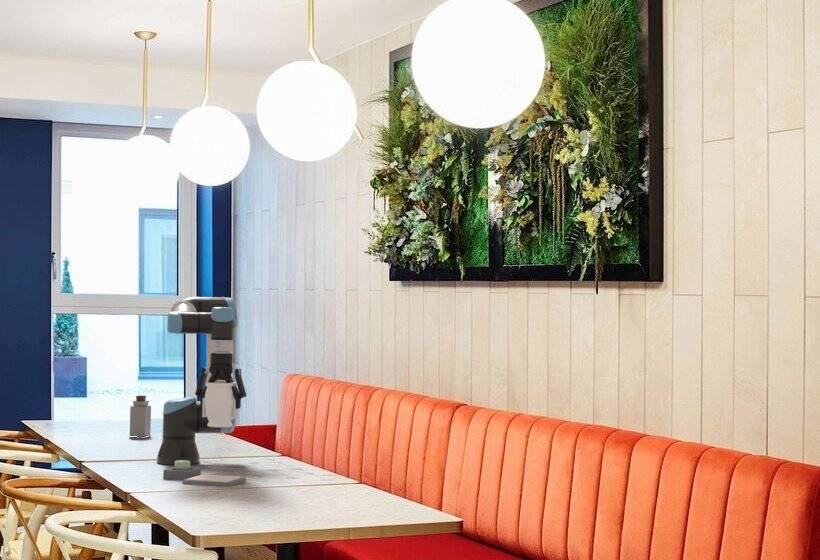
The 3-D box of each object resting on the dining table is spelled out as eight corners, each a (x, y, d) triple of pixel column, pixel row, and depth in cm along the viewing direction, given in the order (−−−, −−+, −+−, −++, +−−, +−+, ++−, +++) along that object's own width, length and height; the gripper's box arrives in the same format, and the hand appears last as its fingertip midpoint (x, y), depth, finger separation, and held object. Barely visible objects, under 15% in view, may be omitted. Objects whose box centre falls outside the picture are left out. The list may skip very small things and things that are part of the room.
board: (182, 483, 355) (182, 479, 355) (200, 478, 367) (200, 473, 367) (228, 486, 350) (228, 482, 350) (245, 481, 363) (245, 476, 363)
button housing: (163, 479, 364) (163, 469, 364) (176, 475, 373) (176, 466, 373) (188, 480, 362) (188, 471, 362) (200, 476, 370) (201, 467, 371)
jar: (198, 427, 376) (199, 382, 376) (213, 424, 385) (215, 380, 386) (226, 428, 372) (227, 383, 372) (241, 425, 382) (242, 381, 382)
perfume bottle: (135, 436, 488) (136, 395, 488) (150, 436, 487) (151, 395, 487) (129, 437, 481) (130, 396, 482) (144, 438, 480) (145, 396, 481)
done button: (171, 471, 366) (172, 461, 366) (179, 469, 370) (179, 459, 371) (185, 472, 364) (185, 462, 364) (192, 470, 369) (192, 460, 369)
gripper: (185, 351, 379) (184, 417, 378) (248, 354, 373) (246, 420, 372) (195, 351, 386) (194, 415, 385) (257, 353, 380) (255, 418, 379)
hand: (220, 417), depth 379 cm, fingers closed on jar, 10 cm apart
